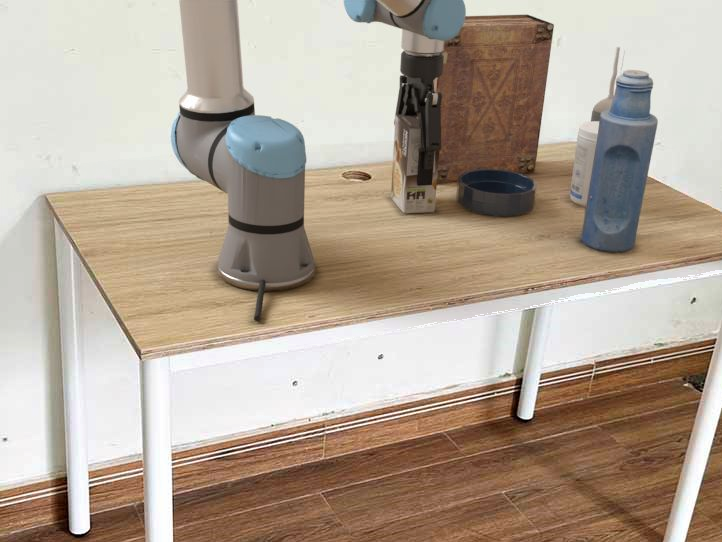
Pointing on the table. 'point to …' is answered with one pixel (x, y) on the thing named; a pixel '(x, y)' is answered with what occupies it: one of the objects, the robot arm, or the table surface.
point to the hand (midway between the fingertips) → (414, 176)
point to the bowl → (496, 192)
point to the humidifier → (607, 102)
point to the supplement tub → (583, 162)
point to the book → (493, 94)
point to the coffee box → (411, 168)
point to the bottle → (620, 166)
